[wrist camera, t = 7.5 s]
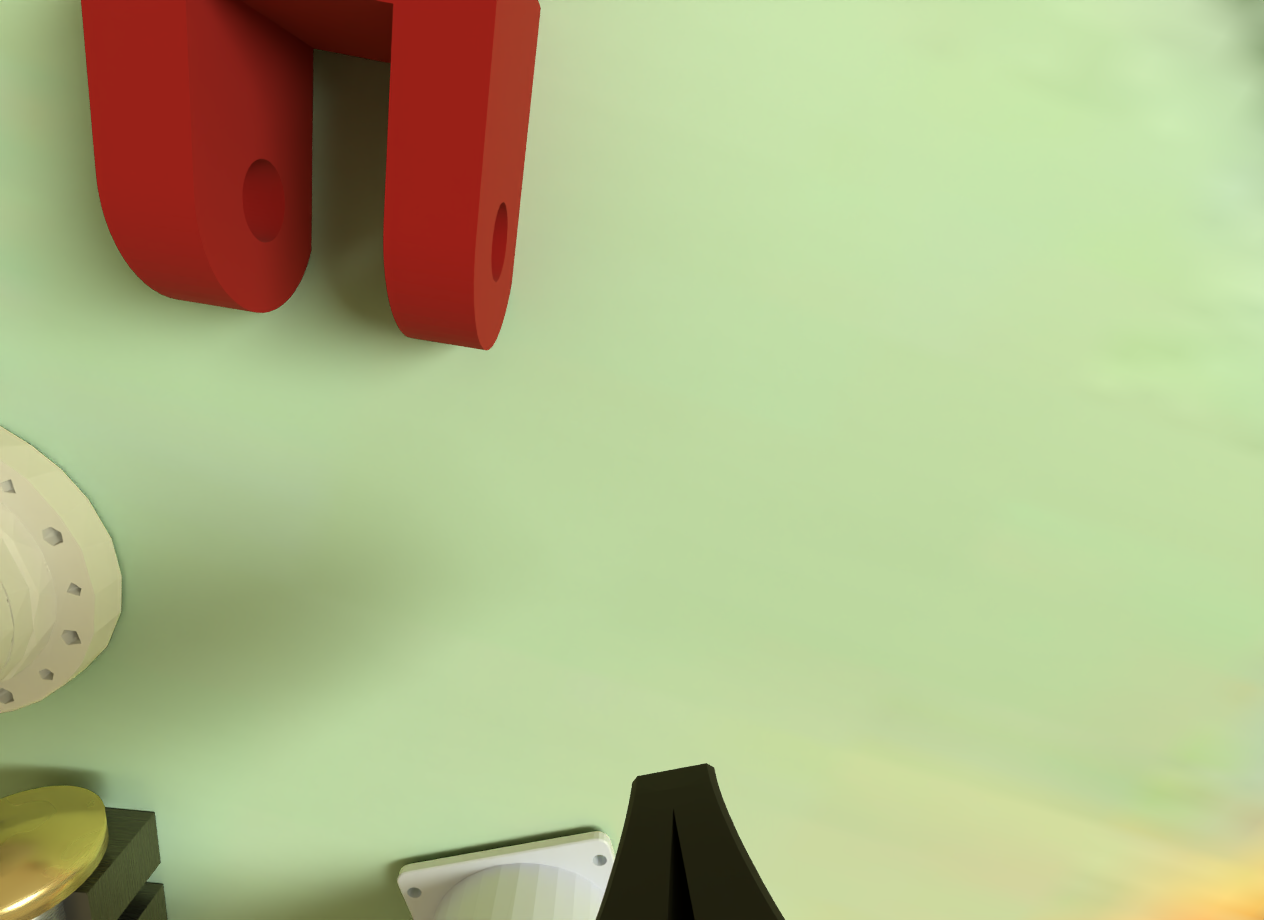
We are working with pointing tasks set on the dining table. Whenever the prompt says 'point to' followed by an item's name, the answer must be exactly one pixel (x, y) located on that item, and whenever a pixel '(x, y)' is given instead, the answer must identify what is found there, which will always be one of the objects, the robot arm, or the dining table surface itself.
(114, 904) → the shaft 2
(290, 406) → the dining table surface
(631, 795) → the robot arm
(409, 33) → the mechanical linkage
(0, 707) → the mechanical component
